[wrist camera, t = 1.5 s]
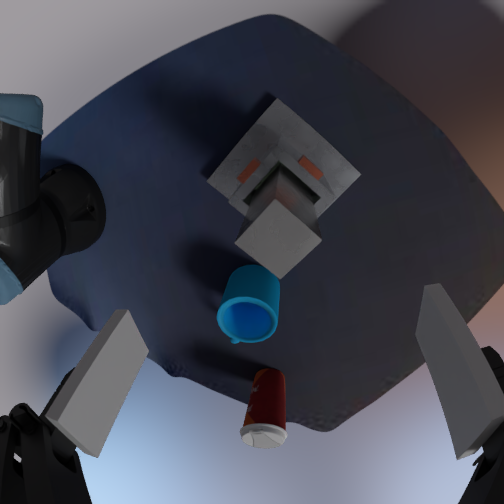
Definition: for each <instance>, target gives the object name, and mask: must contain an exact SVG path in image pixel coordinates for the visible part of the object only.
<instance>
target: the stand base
mask: <svg viewBox="0 0 504 504" xmlns="http://www.w3.org/2000/svg"><path fill="white" fill-rule="evenodd" d="M278 161H280V162H282V163H283V164H284V165H285V166H286V167H287V168H288V169H290V170H291V171H292V172H293V173H294V174H295V175H296V176H298V177H299V178H300V179H301V180H302V181H303V182H304V183H305V184H307V185H308V186H309V187H310V192H311V196H312V200H313V204H314V208H315V212H316V216H317V218H318V217H319V216H320V215H321V214H322V213H323V212H324V211H325V210H326V209H327V208H328V207H329V206H330V205H331V204H332V203H333V202H334V201H335V200H336V199H337V198H338V197H339V196H340V195H341V194H342V193H343V192H344V191H345V190H346V189H347V188H348V187H349V186H350V185H351V184H352V183H353V182H354V181H355V180H356V179H357V178H358V177H359V176H360V175H361V174H360V173H359V172H358V171H357V170H356V169H355V168H354V167H353V166H352V165H351V164H350V163H349V162H348V161H347V160H346V159H345V158H344V157H343V156H342V155H341V154H340V153H339V152H338V151H337V150H336V149H335V148H334V147H333V146H332V145H330V144H329V143H328V142H327V141H326V140H325V139H324V138H323V137H322V136H321V135H320V134H319V133H317V132H316V131H315V130H314V129H313V128H312V127H311V126H310V125H308V124H307V123H306V122H305V121H304V120H303V119H302V118H300V117H299V116H298V115H297V114H296V113H295V112H293V111H292V110H291V109H290V108H289V107H287V106H286V105H285V104H284V103H283V102H281V101H280V100H279V99H278V98H277V99H276V100H275V101H274V102H273V103H272V104H271V105H270V107H269V108H268V109H267V110H266V111H265V112H264V113H263V114H262V116H261V117H260V118H259V119H258V120H257V121H256V122H255V124H254V125H253V126H252V127H251V128H250V129H249V131H248V132H247V133H246V134H245V135H244V136H243V138H242V139H241V140H240V141H239V142H238V144H237V145H236V146H235V147H234V148H233V150H232V151H231V152H230V153H229V154H228V156H227V157H226V158H225V159H224V160H223V162H222V163H221V164H220V165H219V167H218V168H217V169H216V170H215V172H214V173H213V174H212V175H211V177H210V178H209V179H208V181H207V182H208V183H209V184H210V185H212V186H213V187H214V188H215V189H217V190H218V191H219V192H220V193H222V194H223V195H224V196H225V197H227V198H228V199H229V201H228V203H230V204H231V205H232V206H233V207H235V208H236V209H237V210H238V211H240V212H241V213H242V214H243V215H244V216H245V215H246V213H247V210H248V208H249V205H250V203H251V200H252V198H253V195H254V193H255V191H256V190H255V189H254V188H255V186H256V185H257V184H258V183H259V182H260V181H261V180H262V178H263V177H264V176H265V175H266V174H267V173H268V172H269V171H270V170H271V168H272V167H273V166H274V165H275V164H276V163H277V162H278Z"/></svg>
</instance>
